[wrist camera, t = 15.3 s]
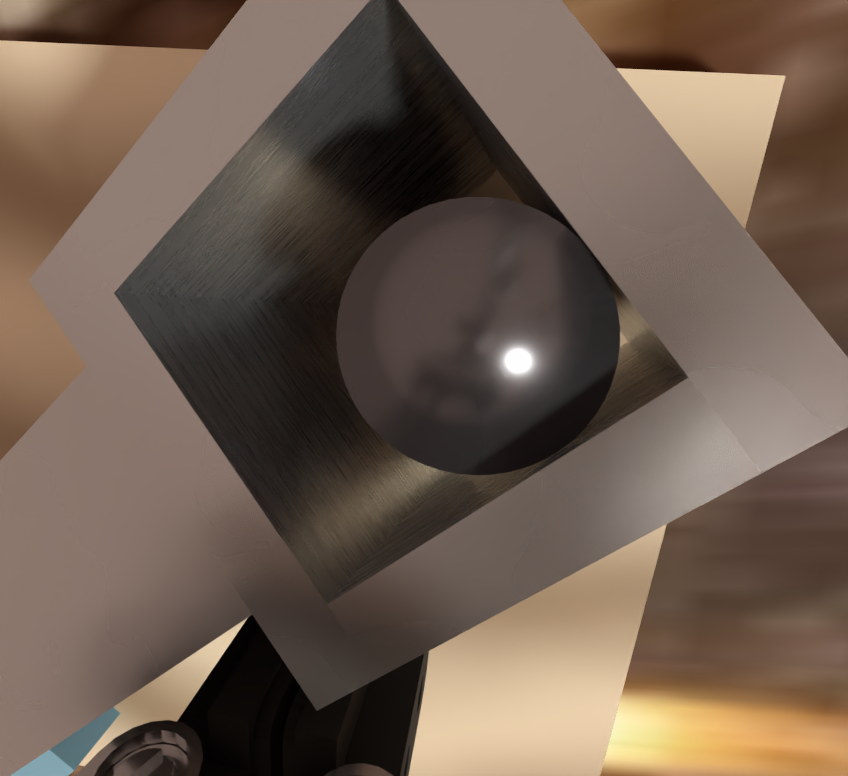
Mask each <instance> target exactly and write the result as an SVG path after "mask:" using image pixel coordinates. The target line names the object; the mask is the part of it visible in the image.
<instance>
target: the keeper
mask: <svg viewBox="0 0 848 776" xmlns="http://www.w3.org/2000/svg"><path fill="white" fill-rule="evenodd" d="M119 715H120V712H118V711H117V710H116V709H115V708H114V707H113V708H111V709H110V710H108V711H107V712H105V713H104V714H102V715H101V716H99V717H98V718H96V719H95V720H93V721H92V722H90V723H89V724H87V725H86V726H84V727H83V728H81V729H80V730H78V731H77V732H75V733H74V734H72V735H71V736H69V737H67V738H66V739H64V740H63V741H61V742H60V743H58V744H57V745H55V746H54V747H52V748H51V749H49V750H48V751H46V752H45V753H43V754H42V755H40V756H39V757H37V758H36V759H34V760H33V761H31V762H30V763H28V764H27V765H25V766H24V767H22V768H21V769H19V770H18V771H16V772H15V773H13V774H12V775H10V776H68V775H69V774H71V773H72V772H73V771H74V770H75V769H76V768H77V766H78V765H79V764H80V763H81V761H82V760H83V759H84V758H85V757H86V755H87V754H88V753H89V752H90V750H91V749H92V748H93V747H94V745H95V744H96V743H97V742H98V741H99V739H100V738H101V737H102V736H103V734H104V733H105V732H106V731H107V729H108V728H109V727H110V726H111V724H112V723H113V722H114V721H115V720H116V718H117V717H118V716H119Z"/></svg>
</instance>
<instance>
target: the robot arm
mask: <svg viewBox="0 0 848 776" xmlns="http://www.w3.org/2000/svg"><path fill="white" fill-rule="evenodd" d="M428 655H429V651H428V652H426V653H424V654H422V655H420V656H418V657H417V658H415V659H413V660H411V661H409V662H407V663H405V664H404V665H402V666H400V667H398V668H396V669H394V670H392V671H390V672H389V673H387V674H385V675H383V676H381V677H379V678H377V679H375V680H374V681H372V682H370V683H368V684H366V685H364V686H362V687H360V688H359V689H357V690H355V691H353V692H351V693H349V694H347V695H346V696H344V697H342V698H340V699H338V700H336V701H334V702H332V703H331V704H329V705H327V706H325V707H323V708H321V709H319V710H316V709H315V707H314V706H313V704H312V703H311V701H310V700H309V698H308V697H307V695H306V694H305V692H304V691H303V689H302V688H301V686H300V685H299V684H298V682H297V681H296V679H295V678H294V676H293V675H292V673H291V672H290V670H289V669H288V667H287V666H286V664H285V663H284V661H283V660H282V658H281V657H280V655H279V654H278V652H277V651H276V649H275V648H274V646H273V645H272V643H271V642H270V640H269V639H268V637H267V636H266V634H265V633H264V631H263V630H262V628H261V627H260V625H259V624H258V622H257V621H256V619H255V618H254V616H253V615H251V616H249V617H248V618H247V620H246V621H245V623H244V624H243V626H242V627H241V629H240V630H239V632H238V633H237V635H236V636H235V637H234V639H233V640H232V642H231V643H230V645H229V646H228V648H227V649H226V651H225V652H224V654H223V655H222V656H221V658H220V659H219V661H218V662H217V664H216V665H215V667H214V668H213V670H212V671H211V673H210V674H209V675H208V677H207V678H206V680H205V681H204V683H203V684H202V686H201V687H200V689H199V690H198V692H197V693H196V694H195V696H194V697H193V699H192V700H191V702H190V703H189V705H188V706H187V708H186V709H185V711H184V712H183V713H182V715H181V716H180V718H179V719H178V721H177V722H176V721H171V720H163V721H152V722H149V723H145V724H142V725H139V726H136V727H133V728H132V729H130V730H128V731H126V732H125V733H123V734H121V735H119V736H118V737H116V738H114V739H113V740H112V741H111V742H110V743H108V744H107V745H106V746H105V747H104V748H103V749H101V750H100V751H99V752H98V753H97V754H96V755H95V756H94V757H93V758H92V759H91V760H90V761H89V762H88V763H87V764H86V765H85V766H84V767H83V768H82V769H81V771H80V772H79V773H78V774H77V775H76V776H408V775H409V770H410V764H411V759H412V754H413V748H414V743H415V737H416V732H417V726H418V721H419V716H420V710H421V704H422V699H423V692H424V686H425V679H426V672H427V664H428Z"/></svg>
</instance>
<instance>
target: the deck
mask: <svg viewBox="0 0 848 776" xmlns="http://www.w3.org/2000/svg"><path fill="white" fill-rule="evenodd" d="M207 51H208V50H201V49H179V48H156V47H134V46H112V45H90V44H68V43H46V42H23V41H1V40H0V460H1V459H2V458H3V457H4V456H5V455H6V454H7V453H8V451H9V450H10V449H11V448H12V447H13V446H14V445H15V444H16V443H17V442H18V441H19V439H20V438H21V437H22V436H23V435H24V434H25V433H26V432H27V431H28V430H29V428H30V427H31V426H32V425H33V424H34V423H35V422H36V421H37V420H38V419H39V418H40V416H41V415H42V414H43V413H44V412H45V411H46V410H47V409H48V408H49V407H50V406H51V404H52V403H53V402H54V401H55V400H56V399H57V398H58V397H59V396H60V395H61V394H62V392H63V391H64V390H65V389H66V388H67V387H68V386H69V385H70V384H71V383H72V381H73V380H74V379H75V378H76V377H77V376H78V375H79V374H80V373H81V372H82V371H83V369H84V368H85V367H86V365H85V364H84V362H83V361H82V359H81V358H80V356H79V355H78V353H77V352H76V350H75V349H74V347H73V346H72V344H71V343H70V342H69V340H68V339H67V337H66V336H65V334H64V333H63V331H62V330H61V328H60V327H59V325H58V324H57V322H56V321H55V319H54V318H53V316H52V315H51V313H50V312H49V310H48V309H47V307H46V306H45V304H44V303H43V301H42V300H41V298H40V297H39V295H38V294H37V292H36V291H35V289H34V288H33V286H32V285H31V283H30V282H29V279H30V278H31V277H32V275H33V274H34V273H35V272H36V270H37V269H38V268H39V267H40V265H41V264H42V263H43V261H44V260H45V259H46V258H47V256H48V255H49V254H50V252H51V251H52V250H53V249H54V247H55V246H56V245H57V243H58V242H59V241H60V240H61V238H62V237H63V236H64V234H65V233H66V232H67V231H68V229H69V228H70V227H71V225H72V224H73V223H74V222H75V220H76V219H77V218H78V216H79V215H80V214H81V213H82V211H83V210H84V209H85V207H86V206H87V205H88V204H89V202H90V201H91V200H92V198H93V197H94V196H95V195H96V193H97V192H98V191H99V189H100V188H101V187H102V186H103V184H104V183H105V182H106V180H107V179H108V178H109V177H110V175H111V174H112V173H113V171H114V170H115V169H116V168H117V166H118V165H119V164H120V162H121V161H122V160H123V159H124V157H125V156H126V155H127V153H128V152H129V151H130V150H131V148H132V147H133V146H134V144H135V143H136V142H137V141H138V139H139V138H140V137H141V136H142V134H143V133H144V132H145V130H146V129H147V128H148V127H149V125H150V124H151V123H152V121H153V120H154V119H155V118H156V116H157V115H158V114H159V112H160V111H161V110H162V109H163V107H164V106H165V105H166V103H167V102H168V101H169V100H170V98H171V97H172V96H173V94H174V93H175V92H176V91H177V89H178V88H179V87H180V85H181V84H182V83H183V82H184V80H185V79H186V78H187V76H188V75H189V74H190V73H191V71H192V70H193V69H194V67H195V66H196V65H197V64H198V62H199V61H200V60H201V58H202V57H203V56H204V55H205V53H206V52H207ZM616 69H617V70H618V71H619V73H620V74H621V75H622V76H623V78H624V79H625V80H626V81H627V83H628V84H629V85H630V86H631V88H632V89H633V90H634V91H635V93H636V94H637V95H638V96H639V98H640V99H641V100H642V101H643V103H644V104H645V105H646V106H647V108H648V109H649V110H650V111H651V113H652V114H653V115H654V116H655V118H656V119H657V120H658V121H659V123H660V124H661V125H662V126H663V128H664V129H665V130H666V131H667V133H668V134H669V135H670V136H671V138H672V139H673V140H674V141H675V143H676V144H677V145H678V146H679V148H680V149H681V150H682V151H683V153H684V154H685V155H686V156H687V158H688V159H689V160H690V161H691V163H692V164H693V165H694V166H695V168H696V169H697V170H698V171H699V173H700V174H701V175H702V176H703V178H704V179H705V180H706V181H707V183H708V184H709V185H710V186H711V188H712V189H713V190H714V191H715V193H716V194H717V195H718V196H719V198H720V199H721V200H722V201H723V203H724V204H725V205H726V206H727V208H728V209H729V210H730V211H731V213H732V214H733V215H734V216H735V218H736V219H737V220H738V221H739V223H740V224H741V225H742V226H743V228H744V229H745V227H746V223H747V219H748V215H749V212H750V208H751V204H752V200H753V196H754V193H755V189H756V185H757V181H758V178H759V174H760V170H761V166H762V163H763V159H764V155H765V151H766V147H767V144H768V140H769V136H770V132H771V129H772V125H773V121H774V117H775V114H776V110H777V106H778V102H779V98H780V95H781V91H782V87H783V83H784V80H785V76H778V75H756V74H733V73H711V72H689V71H667V70H645V69H623V68H616ZM466 197H492V198H499V199H506V200H511V201H514V202H518V203H521V204H523V203H522V202H521V201H520V199H519V198H518V197H517V195H516V194H515V193H514V192H513V190H512V189H511V188H510V186H509V185H508V184H507V182H506V181H505V180H504V178H503V177H502V176H501V175H500V173H499V172H498V171H497V169H496V170H495V171H494V172H493V173H491V174H490V175H489V176H488V177H487V178H486V179H485V180H484V181H482V182H481V183H480V184H479V185H478V186H477V187H476V188H475V189H473V190H472V191H471V192H470V193H469V194H468V195H467V196H466ZM626 342H628V341H627V339H626V338H625V337H624V335H623V334H622V333H621V331H620V347H621V346H622V345H624V344H625V343H626ZM666 525H667V524H665V525H663V526H662V527H660V528H658V529H656V530H654V531H652V532H650V533H649V534H647V535H645V536H643V537H641V538H639V539H637V540H635V541H634V542H632V543H630V544H628V545H626V546H624V547H622V548H620V549H619V550H617V551H615V552H613V553H611V554H609V555H607V556H605V557H604V558H602V559H600V560H598V561H596V562H594V563H592V564H591V565H589V566H587V567H585V568H583V569H581V570H579V571H577V572H576V573H574V574H572V575H570V576H568V577H566V578H564V579H562V580H561V581H559V582H557V583H555V584H553V585H551V586H549V587H548V588H546V589H544V590H542V591H540V592H538V593H536V594H534V595H533V596H531V597H529V598H527V599H525V600H523V601H521V602H519V603H518V604H516V605H514V606H512V607H510V608H508V609H506V610H505V611H503V612H501V613H499V614H497V615H495V616H493V617H491V618H490V619H488V620H486V621H484V622H482V623H480V624H478V625H476V626H475V627H473V628H471V629H469V630H467V631H465V632H463V633H461V634H460V635H458V636H456V637H454V638H452V639H450V640H448V641H447V642H445V643H443V644H441V645H439V646H437V647H435V648H433V649H432V650H430V651H429V655H428V664H427V672H426V679H425V686H424V692H423V699H422V704H421V710H420V716H419V721H418V726H417V732H416V737H415V743H414V748H413V754H412V759H411V764H410V770H409V775H408V776H600V773H601V770H602V766H603V762H604V758H605V755H606V751H607V747H608V743H609V739H610V736H611V732H612V728H613V724H614V721H615V717H616V713H617V709H618V706H619V702H620V698H621V694H622V690H623V687H624V683H625V679H626V675H627V672H628V668H629V664H630V660H631V657H632V653H633V649H634V645H635V641H636V638H637V634H638V630H639V626H640V623H641V619H642V615H643V611H644V607H645V604H646V600H647V596H648V592H649V589H650V585H651V581H652V577H653V574H654V570H655V566H656V562H657V558H658V555H659V551H660V547H661V543H662V540H663V536H664V532H665V528H666ZM246 620H247V618H246V619H245V620H243V621H242V622H240V623H239V624H237V625H236V626H234V627H233V628H231V629H230V630H228V631H227V632H225V633H224V634H222V635H221V636H219V637H218V638H216V639H215V640H213V641H212V642H210V643H209V644H207V645H206V646H204V647H203V648H201V649H200V650H198V651H197V652H195V653H194V654H192V655H191V656H189V657H188V658H186V659H185V660H183V661H182V662H180V663H179V664H177V665H176V666H174V667H173V668H171V669H170V670H168V671H167V672H165V673H164V674H162V675H161V676H159V677H158V678H156V679H155V680H153V681H152V682H150V683H149V684H147V685H146V686H144V687H143V688H141V689H140V690H138V691H137V692H135V693H134V694H132V695H131V696H129V697H128V698H126V699H125V700H123V701H122V702H120V703H119V704H117V705H116V706H114V708H115V709H116V710H117V711H118V712H120V715H119V716H118V717H117V718H116V720H115V721H114V722H113V723H112V724H111V726H110V727H109V728H108V729H107V731H106V732H105V733H104V734H103V736H102V737H101V738H100V739H99V741H98V742H97V743H96V744H95V745H94V747H93V748H92V749H91V750H90V752H89V753H88V754H87V755H86V757H85V758H84V759H83V760H82V761H81V763H80V764H79V765H82V766H85V765H86V764H87V763H88V762H89V761H90V760H91V759H92V758H93V757H94V756H95V755H96V754H97V753H98V752H99V751H100V750H101V749H103V748H104V747H105V746H106V745H107V744H108V743H110V742H111V741H112V740H113V739H114V738H116V737H118V736H119V735H121V734H123V733H125V732H126V731H128V730H130V729H132V728H133V727H136V726H139V725H142V724H145V723H149V722H152V721H163V720H171V721H176V722H177V721H178V719H179V718H180V716H181V715H182V713H183V712H184V711H185V709H186V708H187V706H188V705H189V703H190V702H191V700H192V699H193V697H194V696H195V694H196V693H197V692H198V690H199V689H200V687H201V686H202V684H203V683H204V681H205V680H206V678H207V677H208V675H209V674H210V673H211V671H212V670H213V668H214V667H215V665H216V664H217V662H218V661H219V659H220V658H221V656H222V655H223V654H224V652H225V651H226V649H227V648H228V646H229V645H230V643H231V642H232V640H233V639H234V637H235V636H236V635H237V633H238V632H239V630H240V629H241V627H242V626H243V624H244V623H245V621H246Z"/></svg>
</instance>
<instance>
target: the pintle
mask: <svg viewBox="0 0 848 776" xmlns="http://www.w3.org/2000/svg"><path fill="white" fill-rule="evenodd" d="M336 342H337V354H338V360H339V366H340V369H341V373H342V376H343V380H344V383H345V385H346V387H347V390H348V392H349V394H350V397H351V399H352V400H353V402H354V404H355V405H356V407H357V409H358V411H359V412H360V414H361V415H362V416H363V418H364V419H365V420H366V421H367V423H368V424H369V425H370V427H371V428H372V429H373V430H374V431H375V432H376V433H377V434H378V435H379V436H380V437H381V438H382V439H384V440H385V441H386V442H387V443H388V444H390V445H391V446H392V447H393V448H395V449H396V450H398V451H399V452H401V453H403V454H404V455H406V456H407V457H409V458H411V459H413V460H415V461H417V462H419V463H422V464H424V465H426V466H429V467H432V468H435V469H438V470H441V471H446V472H451V473H456V474H465V475H494V474H501V473H507V472H511V471H515V470H519V469H522V468H526V467H528V466H531V465H533V464H536V463H538V462H540V461H542V460H544V459H546V458H548V457H550V456H551V455H553V454H555V453H557V452H558V451H559V450H561V449H562V448H563V447H565V446H566V445H568V444H569V443H570V442H571V441H573V440H574V439H575V438H576V437H577V436H578V435H579V434H580V433H581V432H582V431H583V430H584V429H585V428H586V426H587V425H588V424H589V423H590V421H591V420H592V419H593V418H594V416H595V415H596V414H597V412H598V410H599V409H600V407H601V405H602V404H603V402H604V400H605V398H606V396H607V394H608V391H609V389H610V387H611V384H612V382H613V379H614V375H615V371H616V368H617V364H618V357H619V350H620V323H619V316H618V309H617V305H616V301H615V298H614V295H613V291H612V288H611V286H610V284H609V282H608V279H607V277H606V275H605V273H604V271H603V269H602V267H601V266H600V264H599V263H598V261H597V260H596V258H595V257H594V255H593V254H592V252H591V251H590V250H589V249H588V248H587V247H586V245H585V244H584V243H583V242H582V241H581V240H580V239H579V238H578V237H577V236H576V235H575V234H574V233H573V232H571V231H570V230H569V229H568V228H567V227H566V226H564V225H563V224H561V223H560V222H558V221H557V220H555V219H554V218H552V217H551V216H549V215H547V214H545V213H543V212H541V211H539V210H537V209H535V208H532V207H530V206H528V205H524V204H521V203H518V202H514V201H511V200H506V199H499V198H492V197H464V198H456V199H449V200H445V201H442V202H438V203H434V204H431V205H428V206H426V207H423V208H421V209H419V210H416V211H414V212H412V213H410V214H408V215H407V216H405V217H404V218H402V219H400V220H399V221H397V222H395V223H394V224H393V225H392V226H390V227H389V228H388V229H387V230H385V231H384V232H383V233H382V234H380V235H379V237H378V238H377V239H376V240H375V241H374V242H373V243H372V244H371V245H370V246H369V247H368V248H367V250H366V251H365V252H364V254H363V255H362V257H361V258H360V259H359V261H358V262H357V264H356V266H355V267H354V269H353V271H352V273H351V275H350V277H349V279H348V281H347V284H346V286H345V289H344V292H343V294H342V298H341V302H340V306H339V311H338V317H337V328H336Z"/></svg>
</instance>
